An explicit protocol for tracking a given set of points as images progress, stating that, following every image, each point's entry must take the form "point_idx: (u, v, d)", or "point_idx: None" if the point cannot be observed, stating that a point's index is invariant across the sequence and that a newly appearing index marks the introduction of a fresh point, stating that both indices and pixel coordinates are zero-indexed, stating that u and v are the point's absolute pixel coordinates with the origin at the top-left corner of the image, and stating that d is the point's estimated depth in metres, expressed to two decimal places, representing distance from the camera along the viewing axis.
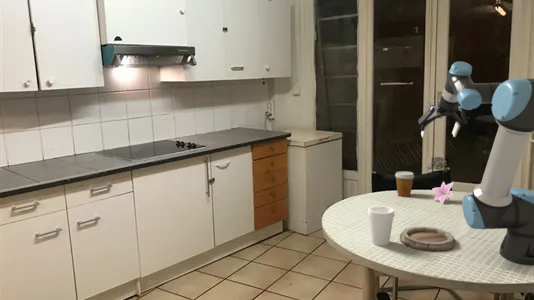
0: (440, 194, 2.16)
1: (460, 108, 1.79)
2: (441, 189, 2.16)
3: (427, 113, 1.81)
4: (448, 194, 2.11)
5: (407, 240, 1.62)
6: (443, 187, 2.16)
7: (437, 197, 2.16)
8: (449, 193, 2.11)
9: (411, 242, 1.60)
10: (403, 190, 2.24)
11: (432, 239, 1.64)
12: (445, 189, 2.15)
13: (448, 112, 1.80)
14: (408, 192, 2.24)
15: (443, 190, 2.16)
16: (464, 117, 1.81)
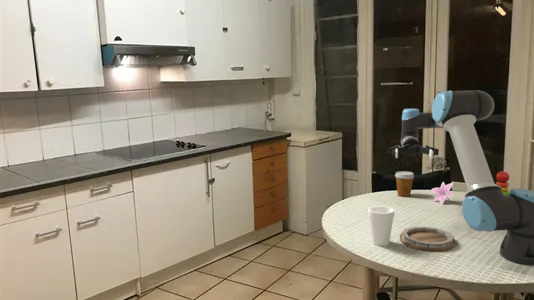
0: (440, 194, 2.15)
1: (424, 147, 1.89)
2: (440, 189, 2.16)
3: None
4: (448, 194, 2.11)
5: (407, 240, 1.62)
6: (443, 187, 2.16)
7: (437, 198, 2.15)
8: (449, 193, 2.11)
9: (411, 242, 1.60)
10: (403, 190, 2.24)
11: (432, 239, 1.64)
12: (445, 189, 2.14)
13: (413, 146, 1.89)
14: (408, 192, 2.24)
15: (443, 190, 2.15)
16: (431, 147, 1.84)
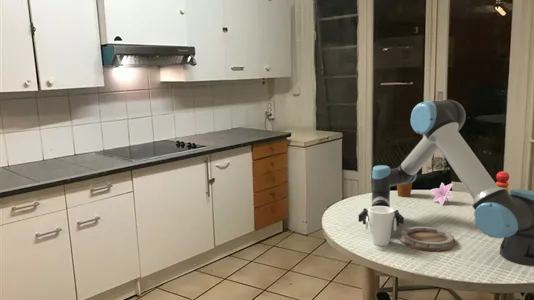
0: (439, 195, 2.14)
1: (394, 212, 1.73)
2: (440, 190, 2.15)
3: None
4: (447, 195, 2.10)
5: (407, 240, 1.62)
6: (442, 188, 2.15)
7: (436, 199, 2.14)
8: (449, 194, 2.09)
9: (411, 242, 1.60)
10: (403, 190, 2.24)
11: (432, 239, 1.64)
12: (444, 190, 2.13)
13: None
14: (408, 192, 2.24)
15: (442, 191, 2.14)
16: (399, 214, 1.68)
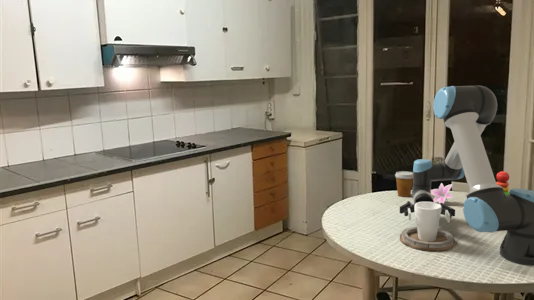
0: (439, 196, 2.13)
1: None
2: (439, 190, 2.14)
3: None
4: (447, 196, 2.09)
5: (407, 240, 1.62)
6: (441, 188, 2.14)
7: (436, 199, 2.13)
8: (448, 195, 2.08)
9: (411, 242, 1.60)
10: (403, 190, 2.24)
11: None
12: (444, 190, 2.12)
13: None
14: (408, 192, 2.24)
15: (441, 192, 2.13)
16: (447, 206, 1.69)
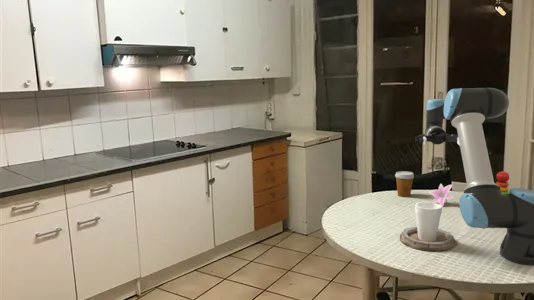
0: (438, 196, 2.12)
1: (450, 136, 1.90)
2: (439, 191, 2.13)
3: None
4: (447, 196, 2.08)
5: (407, 240, 1.62)
6: (441, 189, 2.12)
7: (436, 200, 2.11)
8: (448, 195, 2.07)
9: (411, 242, 1.60)
10: (403, 190, 2.24)
11: None
12: (443, 191, 2.11)
13: (439, 135, 1.90)
14: (408, 192, 2.24)
15: (441, 192, 2.12)
16: None
